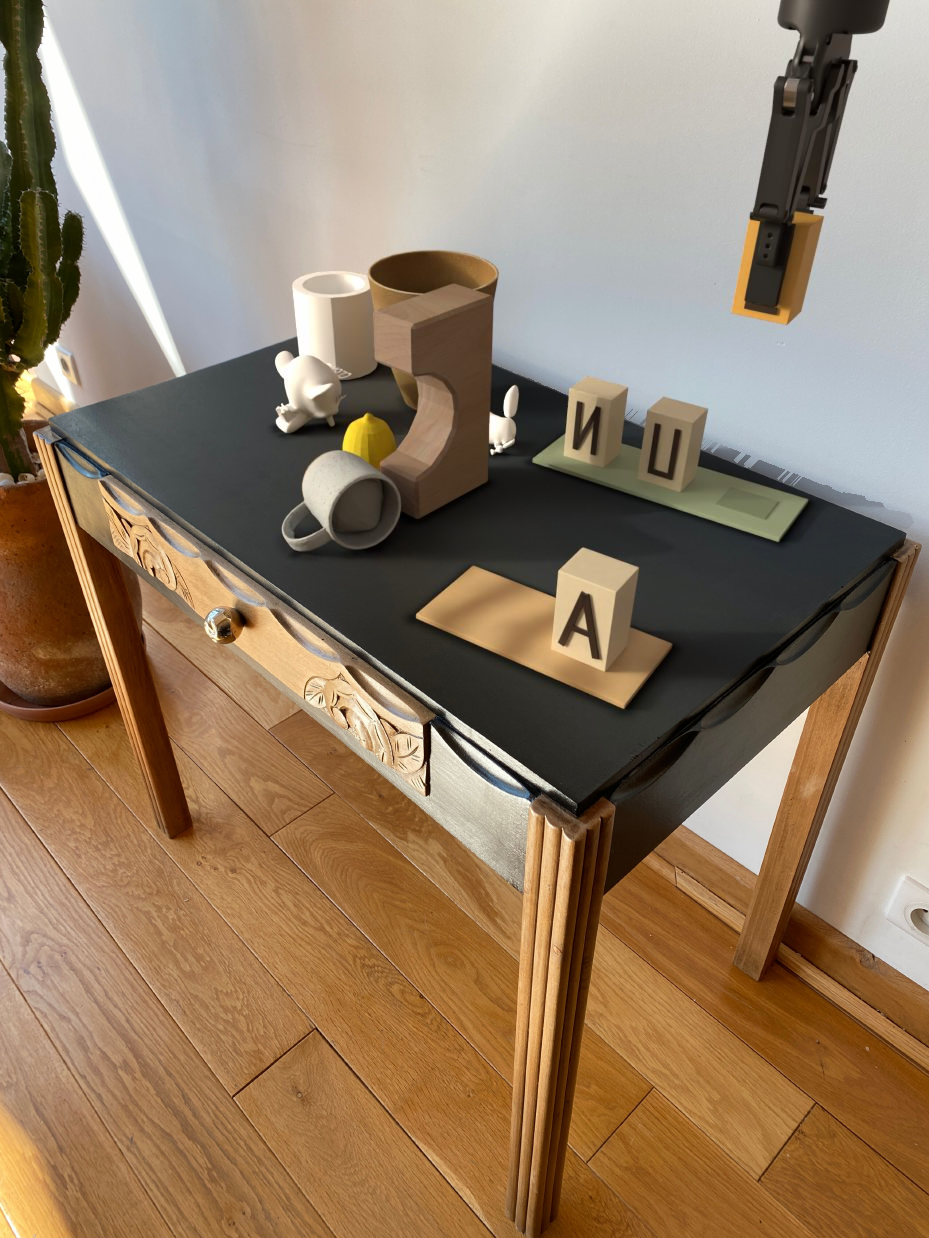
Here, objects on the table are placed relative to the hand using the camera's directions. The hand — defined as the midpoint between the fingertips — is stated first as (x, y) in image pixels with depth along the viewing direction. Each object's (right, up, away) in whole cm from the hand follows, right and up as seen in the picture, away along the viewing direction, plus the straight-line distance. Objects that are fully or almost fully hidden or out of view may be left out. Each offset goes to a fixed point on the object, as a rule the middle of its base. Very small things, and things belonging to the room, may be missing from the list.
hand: (770, 293), depth 80 cm
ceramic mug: (-39, -20, +11) cm, 45 cm away
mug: (-43, +6, +44) cm, 62 cm away
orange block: (0, -1, +1) cm, 2 cm away
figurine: (-44, -5, +30) cm, 53 cm away
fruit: (-36, -14, +19) cm, 43 cm away
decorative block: (-30, -15, +17) cm, 37 cm away
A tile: (-16, -31, -3) cm, 35 cm away
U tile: (-5, -13, +19) cm, 24 cm away
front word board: (-20, -29, -1) cm, 36 cm away
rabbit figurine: (-23, -8, +27) cm, 36 cm away
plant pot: (-30, -1, +35) cm, 46 cm away
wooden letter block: (-12, -10, +23) cm, 28 cm away
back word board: (-5, -13, +19) cm, 24 cm away
